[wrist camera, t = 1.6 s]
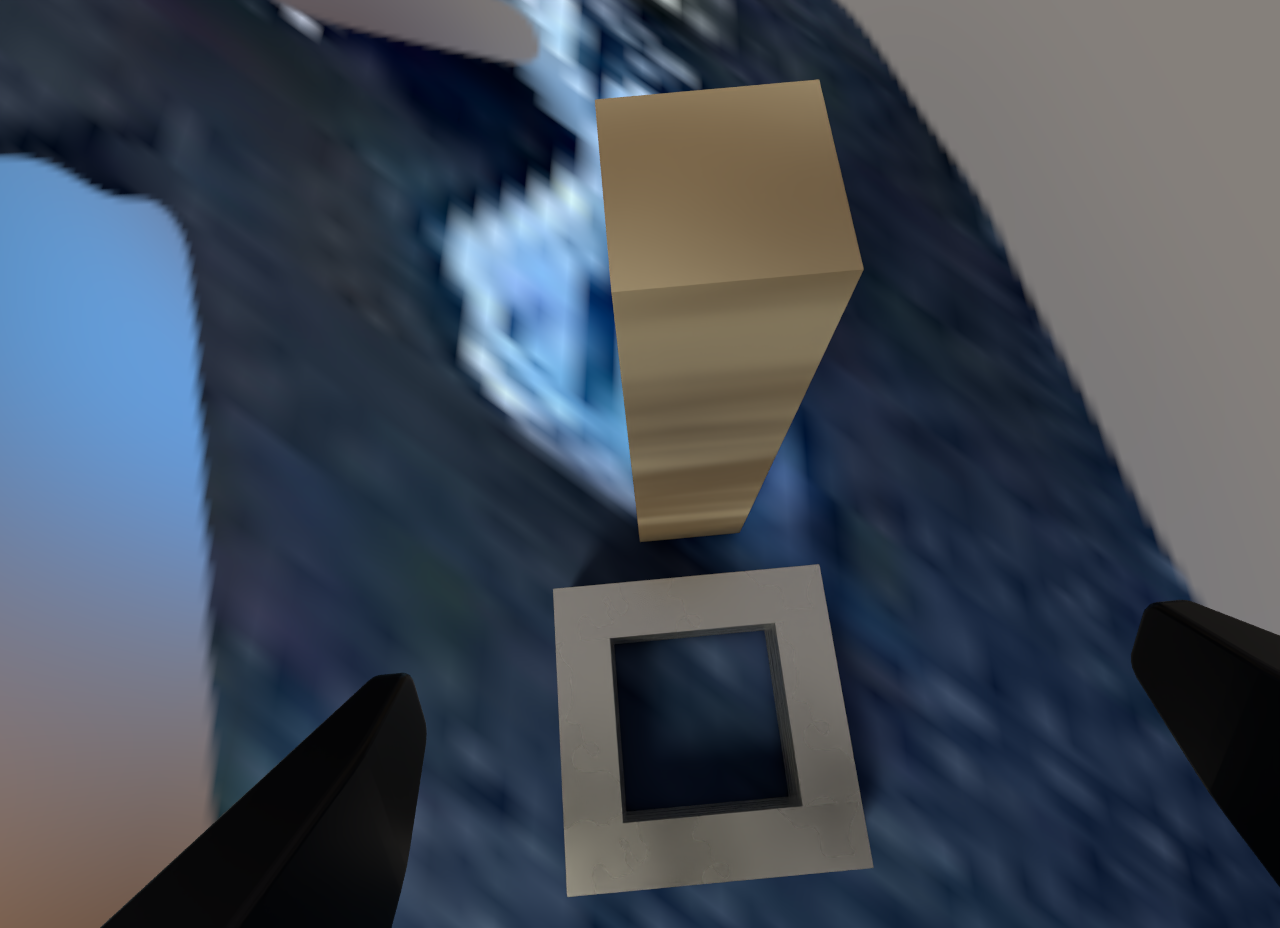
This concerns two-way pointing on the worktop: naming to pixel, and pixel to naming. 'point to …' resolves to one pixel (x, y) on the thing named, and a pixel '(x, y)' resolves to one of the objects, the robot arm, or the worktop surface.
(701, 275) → the pin
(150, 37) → the worktop surface
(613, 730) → the socket plate
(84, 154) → the worktop surface
